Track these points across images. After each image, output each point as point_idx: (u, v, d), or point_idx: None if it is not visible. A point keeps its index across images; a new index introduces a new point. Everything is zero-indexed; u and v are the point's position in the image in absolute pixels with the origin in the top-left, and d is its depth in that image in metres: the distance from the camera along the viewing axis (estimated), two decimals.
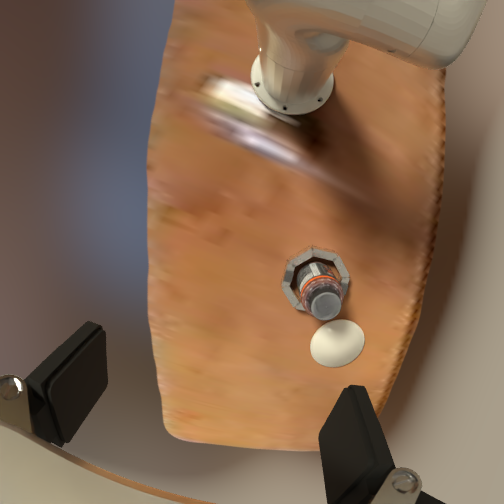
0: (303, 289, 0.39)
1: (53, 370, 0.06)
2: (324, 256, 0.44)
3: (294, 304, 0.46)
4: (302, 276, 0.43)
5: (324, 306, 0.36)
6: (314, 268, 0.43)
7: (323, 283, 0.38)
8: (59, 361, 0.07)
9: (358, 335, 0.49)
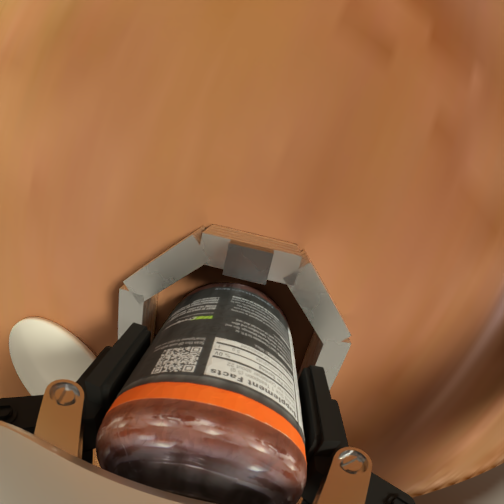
0: (236, 410, 0.06)
1: (110, 373, 0.07)
2: None
3: (134, 284, 0.12)
4: (262, 331, 0.10)
5: None
6: (296, 372, 0.10)
7: (288, 499, 0.05)
8: (114, 363, 0.08)
9: None
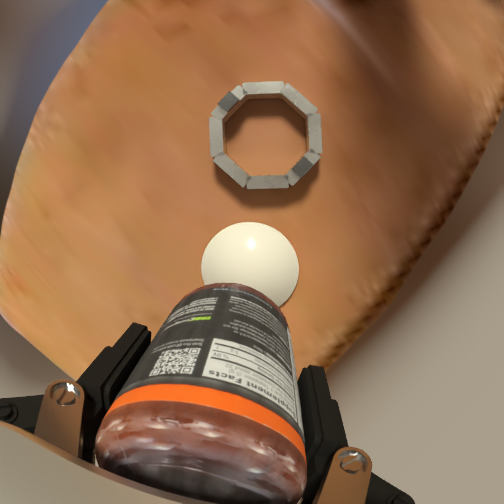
0: (234, 412, 0.06)
1: (110, 373, 0.07)
2: (297, 102, 0.24)
3: (214, 152, 0.26)
4: (260, 332, 0.10)
5: None
6: (295, 373, 0.10)
7: (288, 501, 0.05)
8: (114, 363, 0.08)
9: (289, 273, 0.30)
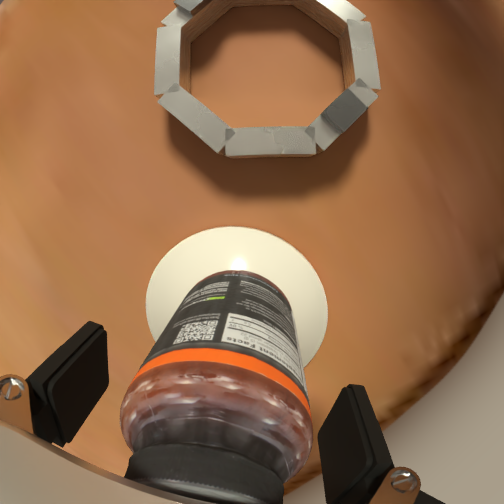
0: (250, 369, 0.07)
1: (55, 370, 0.06)
2: (326, 0, 0.10)
3: (162, 86, 0.11)
4: (269, 310, 0.11)
5: None
6: (299, 349, 0.11)
7: (297, 457, 0.07)
8: (60, 361, 0.07)
9: (309, 325, 0.15)
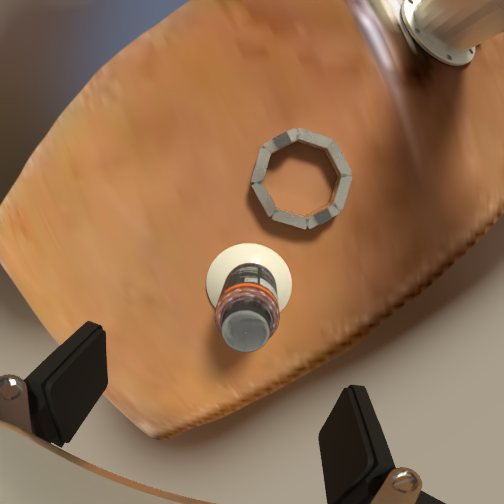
0: (268, 293, 0.26)
1: (53, 370, 0.06)
2: (338, 160, 0.29)
3: (255, 179, 0.30)
4: (271, 282, 0.30)
5: (247, 330, 0.23)
6: None
7: (273, 326, 0.26)
8: (59, 361, 0.07)
9: (280, 297, 0.35)
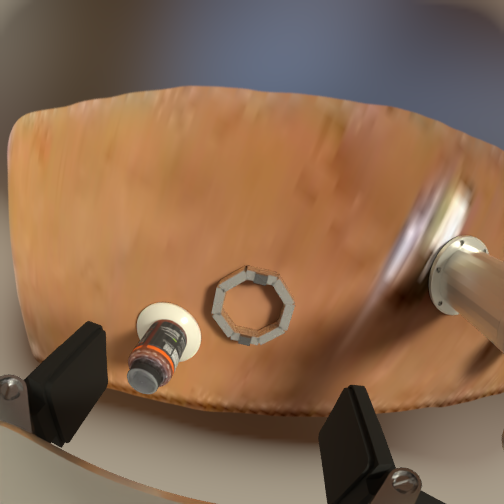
0: (171, 366, 0.33)
1: (53, 370, 0.06)
2: (284, 317, 0.38)
3: (222, 286, 0.37)
4: (180, 352, 0.37)
5: (144, 382, 0.30)
6: None
7: (161, 384, 0.33)
8: (59, 361, 0.07)
9: (182, 355, 0.42)
